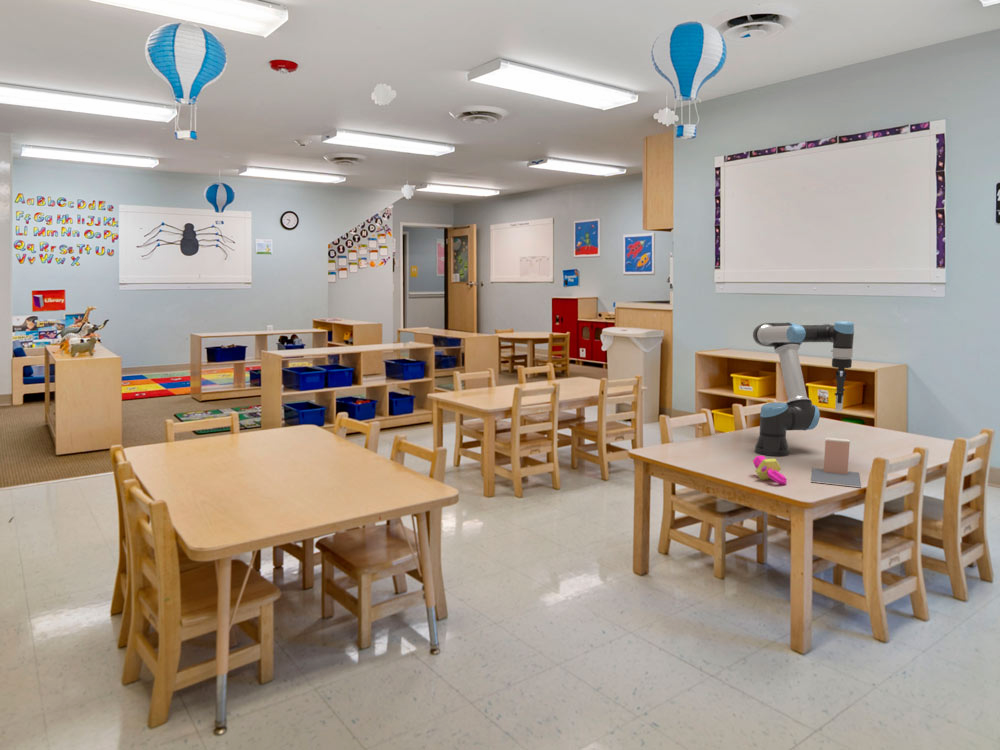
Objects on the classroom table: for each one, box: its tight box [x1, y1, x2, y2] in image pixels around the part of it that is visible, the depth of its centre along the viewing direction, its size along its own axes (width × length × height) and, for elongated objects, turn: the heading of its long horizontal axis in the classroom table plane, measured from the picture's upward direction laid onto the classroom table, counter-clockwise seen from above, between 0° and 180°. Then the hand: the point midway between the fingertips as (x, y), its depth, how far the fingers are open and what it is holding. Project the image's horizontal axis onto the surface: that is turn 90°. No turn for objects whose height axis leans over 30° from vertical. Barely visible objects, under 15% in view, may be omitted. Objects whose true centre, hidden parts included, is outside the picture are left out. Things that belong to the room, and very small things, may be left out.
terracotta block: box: [823, 436, 851, 474], centre depth 292 cm, size 4×9×14 cm, turn 65°
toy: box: [752, 455, 787, 485], centre depth 284 cm, size 10×18×10 cm
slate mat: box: [810, 467, 862, 489], centre depth 286 cm, size 22×18×1 cm
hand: (838, 408), depth 299 cm, fingers open, 12 cm apart
